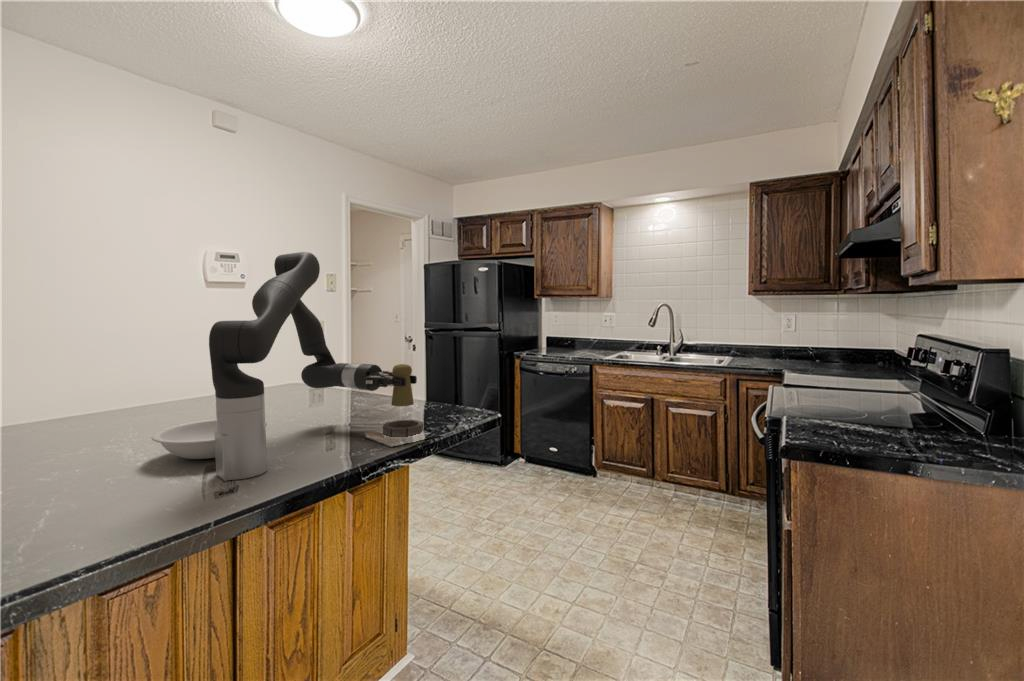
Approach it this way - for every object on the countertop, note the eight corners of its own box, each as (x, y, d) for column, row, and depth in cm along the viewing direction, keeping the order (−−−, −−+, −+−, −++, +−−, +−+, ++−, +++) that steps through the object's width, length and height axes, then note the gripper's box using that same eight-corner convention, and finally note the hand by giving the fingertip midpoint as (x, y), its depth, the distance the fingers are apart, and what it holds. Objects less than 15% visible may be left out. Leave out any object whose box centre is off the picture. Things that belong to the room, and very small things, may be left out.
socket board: (391, 447, 127) (391, 433, 126) (364, 437, 136) (364, 424, 136) (442, 436, 138) (441, 423, 138) (413, 427, 148) (413, 415, 147)
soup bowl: (217, 474, 107) (215, 444, 106) (125, 467, 112) (124, 439, 111) (288, 444, 130) (287, 419, 130) (210, 439, 135) (209, 415, 135)
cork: (411, 406, 134) (410, 366, 133) (388, 406, 134) (388, 365, 133) (415, 401, 140) (415, 363, 139) (394, 401, 140) (394, 363, 139)
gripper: (343, 366, 135) (393, 370, 128) (378, 361, 148) (425, 364, 141) (344, 393, 136) (394, 399, 129) (378, 385, 149) (426, 390, 142)
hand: (410, 381), depth 135 cm, fingers closed on cork, 4 cm apart
